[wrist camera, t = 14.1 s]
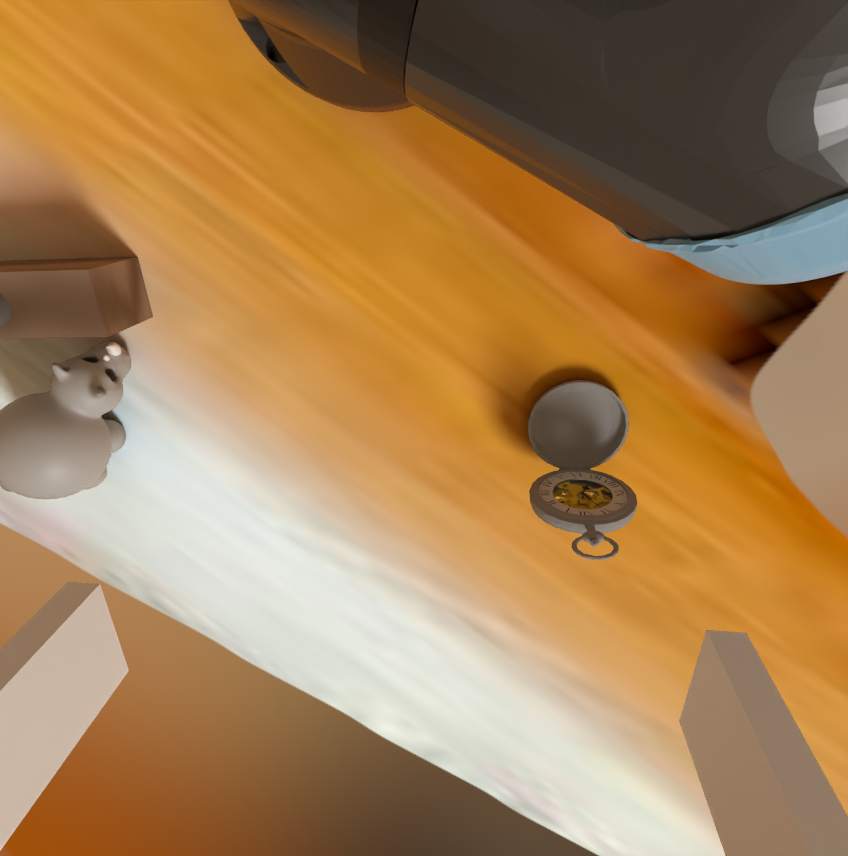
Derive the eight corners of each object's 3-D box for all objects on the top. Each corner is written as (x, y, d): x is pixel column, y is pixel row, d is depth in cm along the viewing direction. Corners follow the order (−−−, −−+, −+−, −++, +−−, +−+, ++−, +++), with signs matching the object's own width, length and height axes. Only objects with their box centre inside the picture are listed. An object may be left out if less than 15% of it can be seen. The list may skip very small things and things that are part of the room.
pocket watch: (594, 358, 36) (630, 422, 27) (655, 452, 38) (706, 540, 29) (490, 421, 38) (490, 499, 29) (552, 506, 41) (571, 601, 32)
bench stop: (-52, 262, 38) (-180, 285, 30) (137, 257, 36) (50, 279, 29) (-29, 319, 39) (-145, 354, 32) (152, 317, 38) (74, 351, 31)
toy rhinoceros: (187, 372, 42) (147, 378, 34) (101, 498, 43) (42, 534, 34) (101, 317, 41) (38, 309, 33) (14, 448, 41) (-71, 472, 33)
